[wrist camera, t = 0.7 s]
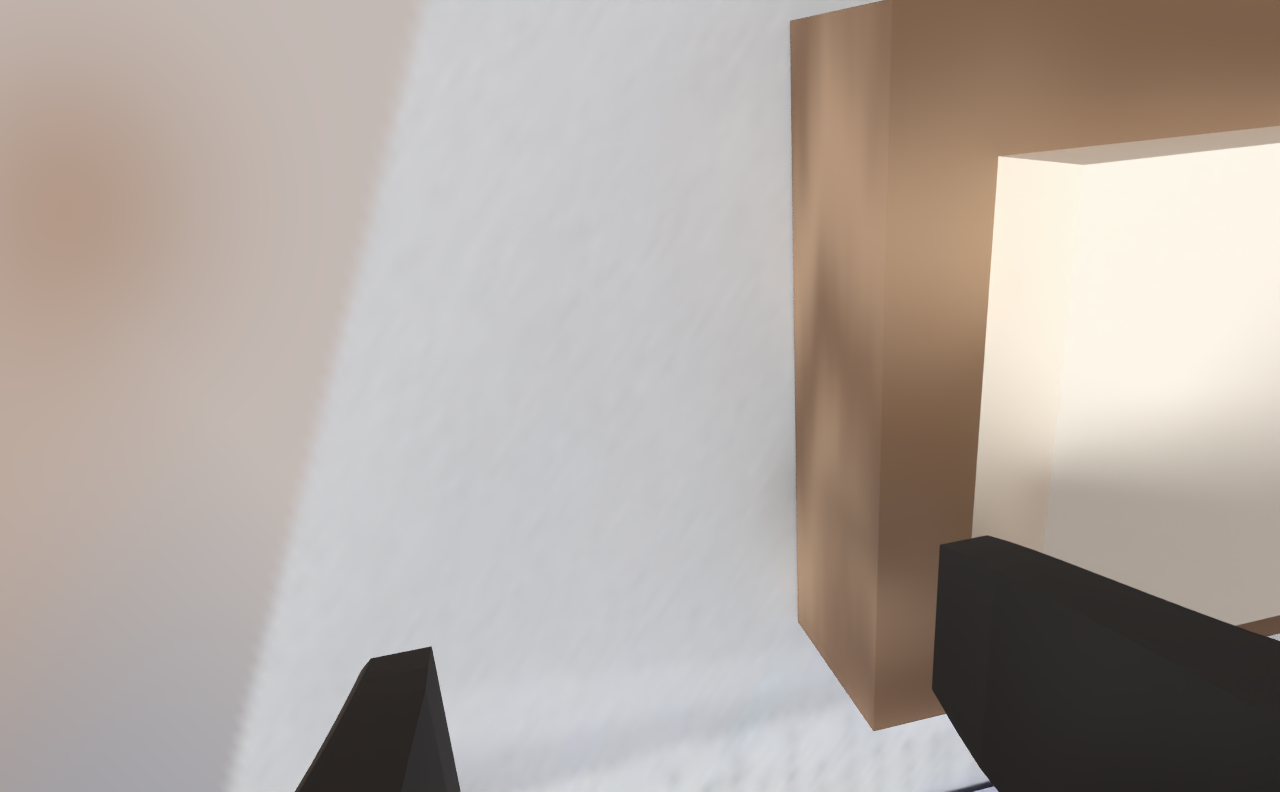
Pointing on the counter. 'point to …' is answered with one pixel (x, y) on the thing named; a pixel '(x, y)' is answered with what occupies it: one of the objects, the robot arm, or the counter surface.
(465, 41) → the counter surface
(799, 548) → the wooden block
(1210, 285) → the cream sticky note pad
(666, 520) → the counter surface
